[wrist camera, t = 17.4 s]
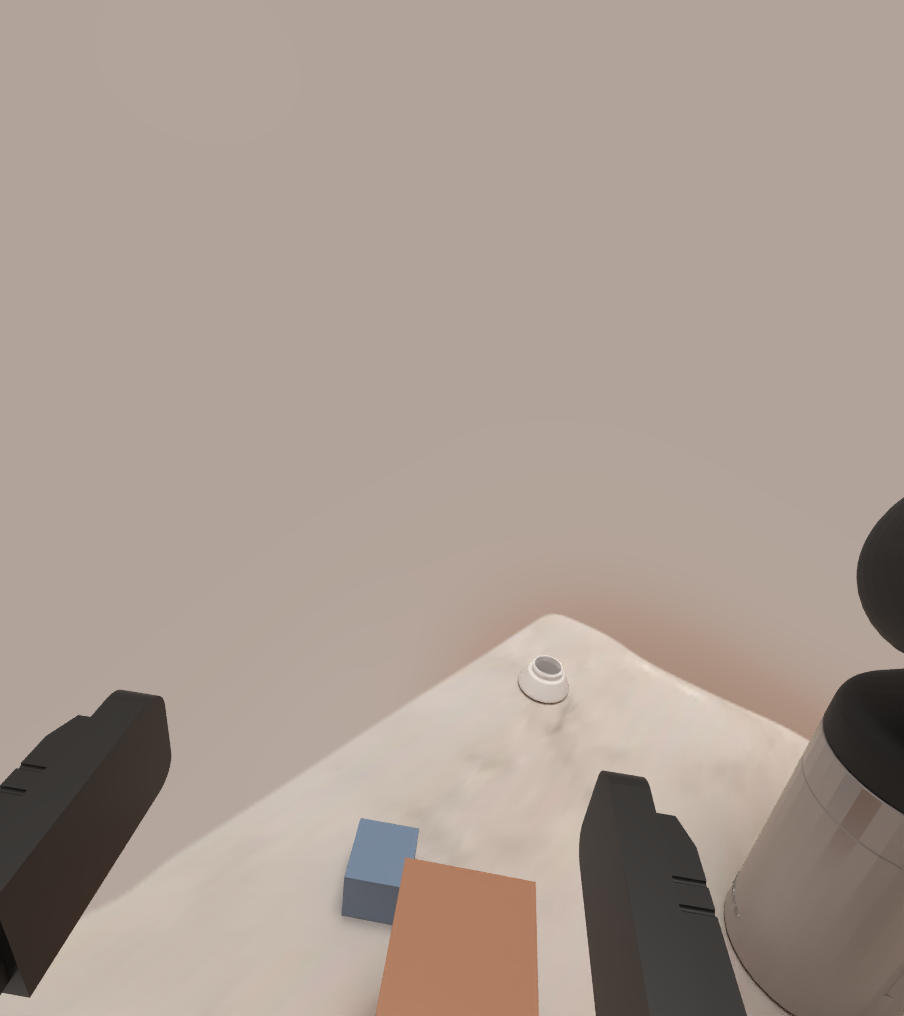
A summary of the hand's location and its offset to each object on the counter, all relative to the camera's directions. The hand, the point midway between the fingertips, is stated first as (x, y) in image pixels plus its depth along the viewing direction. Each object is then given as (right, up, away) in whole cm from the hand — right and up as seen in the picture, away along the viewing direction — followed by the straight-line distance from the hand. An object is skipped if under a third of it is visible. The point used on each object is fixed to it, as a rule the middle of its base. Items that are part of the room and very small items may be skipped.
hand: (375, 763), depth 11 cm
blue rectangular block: (-3, -21, +28) cm, 35 cm away
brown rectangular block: (0, -25, +20) cm, 32 cm away
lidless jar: (+11, -14, +48) cm, 51 cm away
